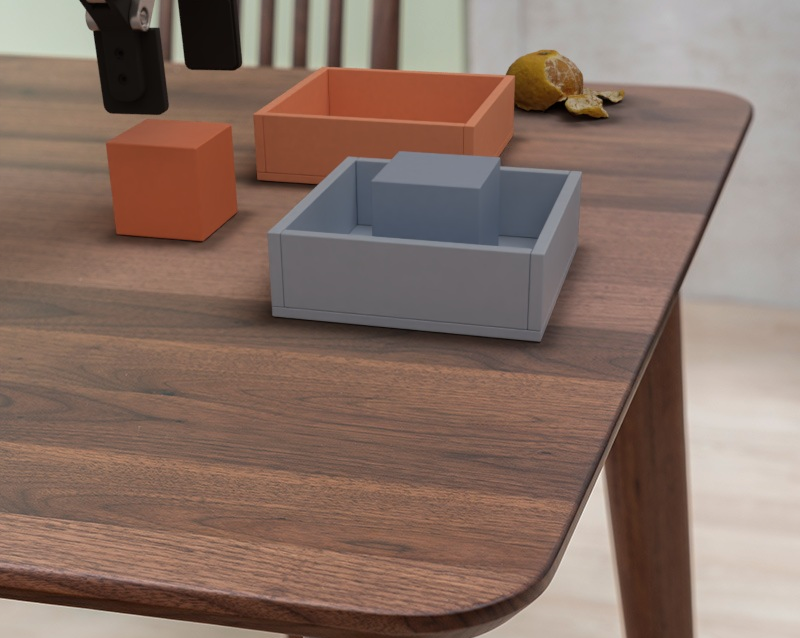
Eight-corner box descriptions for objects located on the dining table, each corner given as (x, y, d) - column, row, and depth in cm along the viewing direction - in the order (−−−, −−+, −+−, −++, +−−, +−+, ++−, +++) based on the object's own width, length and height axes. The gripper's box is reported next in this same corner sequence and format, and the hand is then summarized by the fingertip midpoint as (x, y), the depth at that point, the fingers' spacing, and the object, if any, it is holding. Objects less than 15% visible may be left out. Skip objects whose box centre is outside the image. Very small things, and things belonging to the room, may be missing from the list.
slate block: (372, 284, 59) (370, 180, 56) (400, 248, 63) (398, 150, 61) (477, 293, 57) (479, 188, 55) (498, 256, 62) (500, 156, 60)
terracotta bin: (257, 180, 75) (252, 113, 73) (324, 125, 87) (321, 66, 85) (473, 195, 72) (474, 126, 70) (513, 136, 84) (515, 75, 82)
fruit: (600, 123, 86) (603, 69, 84) (485, 113, 89) (486, 60, 87) (628, 97, 93) (632, 46, 91) (520, 88, 96) (522, 38, 94)
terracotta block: (115, 234, 67) (104, 142, 65) (155, 205, 71) (146, 118, 69) (203, 242, 66) (195, 148, 63) (238, 212, 70) (231, 123, 68)
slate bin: (272, 316, 57) (266, 232, 55) (349, 229, 67) (347, 156, 65) (540, 342, 54) (544, 254, 52) (578, 247, 64) (582, 170, 63)
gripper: (140, -279, 66) (178, 54, 73) (-44, -288, 51) (28, 130, 59) (276, -286, 64) (300, 56, 72) (126, -298, 49) (177, 135, 57)
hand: (178, 89), depth 65 cm, fingers open, 9 cm apart
